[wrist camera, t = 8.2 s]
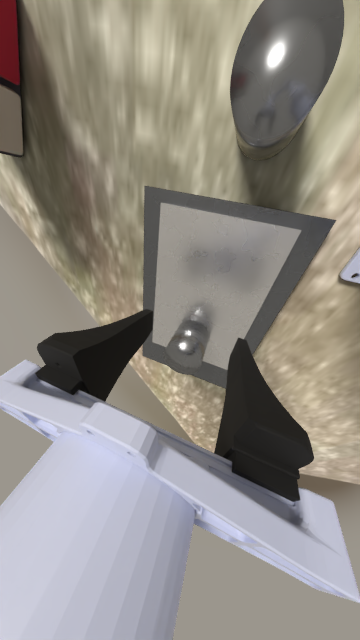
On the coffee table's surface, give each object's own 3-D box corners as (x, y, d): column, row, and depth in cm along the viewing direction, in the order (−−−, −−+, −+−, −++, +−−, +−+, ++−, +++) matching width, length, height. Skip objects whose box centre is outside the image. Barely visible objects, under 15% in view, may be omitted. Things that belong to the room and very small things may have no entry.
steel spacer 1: (207, 319, 20) (197, 346, 16) (211, 347, 22) (203, 376, 18) (174, 319, 22) (158, 344, 18) (181, 345, 24) (168, 371, 20)
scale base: (330, 219, 13) (338, 220, 12) (230, 384, 27) (229, 391, 26) (150, 187, 16) (142, 185, 15) (145, 351, 30) (141, 356, 29)
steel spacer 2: (325, 63, 10) (376, -36, 6) (285, 163, 12) (302, 143, 8) (250, 61, 10) (250, -26, 7) (228, 156, 13) (219, 134, 9)
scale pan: (299, 229, 13) (301, 230, 13) (227, 367, 24) (227, 370, 23) (163, 202, 15) (160, 202, 15) (153, 339, 26) (152, 342, 26)
